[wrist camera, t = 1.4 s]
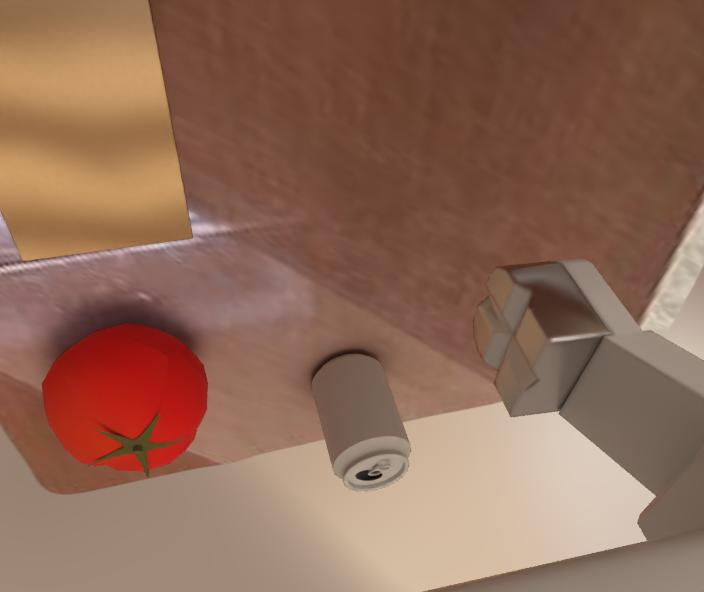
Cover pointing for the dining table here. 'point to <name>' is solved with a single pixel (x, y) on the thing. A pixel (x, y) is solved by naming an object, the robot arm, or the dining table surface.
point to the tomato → (126, 398)
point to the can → (361, 423)
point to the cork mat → (85, 129)
